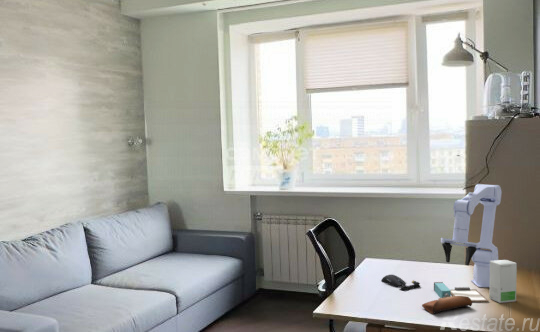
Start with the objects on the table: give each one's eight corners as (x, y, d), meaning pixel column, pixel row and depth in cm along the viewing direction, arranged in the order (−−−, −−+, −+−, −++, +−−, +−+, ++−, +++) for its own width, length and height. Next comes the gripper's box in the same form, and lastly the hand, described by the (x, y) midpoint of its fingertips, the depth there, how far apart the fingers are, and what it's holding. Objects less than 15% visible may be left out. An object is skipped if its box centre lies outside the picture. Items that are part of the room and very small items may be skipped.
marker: (433, 290, 222) (433, 282, 222) (442, 290, 222) (442, 282, 221) (444, 302, 207) (444, 293, 207) (453, 302, 207) (453, 293, 207)
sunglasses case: (456, 297, 208) (463, 287, 204) (467, 312, 203) (474, 302, 199) (419, 305, 201) (426, 294, 197) (429, 320, 196) (436, 309, 192)
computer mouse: (400, 277, 242) (400, 269, 242) (425, 288, 226) (425, 279, 226) (378, 281, 238) (378, 272, 237) (402, 292, 222) (402, 283, 221)
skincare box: (499, 303, 204) (499, 264, 203) (488, 298, 210) (488, 260, 209) (517, 301, 206) (517, 262, 205) (505, 295, 213) (505, 258, 211)
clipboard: (447, 291, 220) (447, 287, 220) (476, 290, 220) (476, 287, 220) (458, 302, 206) (458, 298, 206) (488, 302, 206) (488, 298, 206)
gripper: (446, 227, 204) (442, 261, 202) (483, 232, 203) (479, 267, 202) (440, 226, 211) (436, 260, 209) (476, 232, 210) (472, 265, 209)
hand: (457, 263), depth 206 cm, fingers open, 7 cm apart
